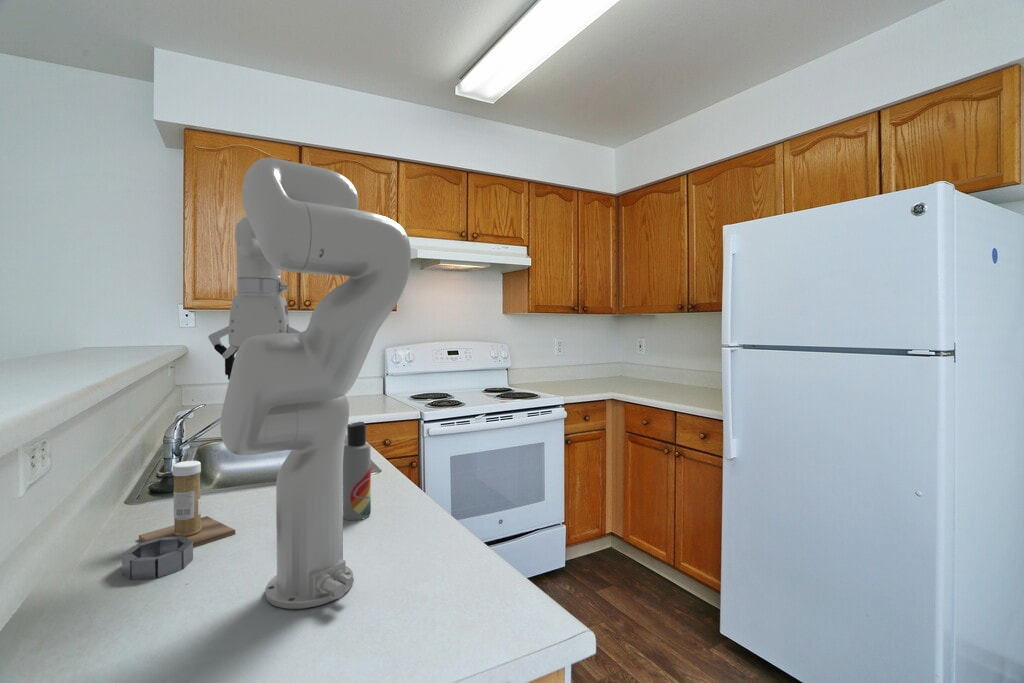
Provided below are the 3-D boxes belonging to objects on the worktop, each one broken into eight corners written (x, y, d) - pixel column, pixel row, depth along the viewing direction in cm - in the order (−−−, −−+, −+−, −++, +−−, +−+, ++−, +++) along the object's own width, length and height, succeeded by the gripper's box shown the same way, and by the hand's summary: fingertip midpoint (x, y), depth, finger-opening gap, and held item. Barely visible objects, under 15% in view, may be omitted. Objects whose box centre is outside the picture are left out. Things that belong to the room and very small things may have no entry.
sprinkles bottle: (207, 528, 99) (206, 460, 99) (189, 538, 95) (188, 466, 94) (185, 527, 100) (184, 459, 99) (167, 537, 95) (166, 465, 95)
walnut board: (235, 534, 99) (235, 529, 99) (165, 556, 89) (164, 552, 89) (207, 519, 106) (206, 516, 106) (138, 539, 96) (138, 535, 96)
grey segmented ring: (200, 563, 87) (200, 545, 86) (136, 585, 79) (136, 566, 79) (177, 548, 92) (177, 532, 92) (115, 568, 85) (115, 550, 84)
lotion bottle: (374, 517, 108) (374, 423, 107) (347, 523, 104) (347, 426, 104) (365, 509, 112) (365, 419, 112) (339, 514, 109) (339, 422, 109)
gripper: (310, 291, 103) (310, 376, 104) (215, 289, 99) (216, 377, 99) (304, 289, 96) (305, 379, 96) (201, 287, 92) (203, 381, 92)
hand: (260, 378), depth 98 cm, fingers open, 9 cm apart
